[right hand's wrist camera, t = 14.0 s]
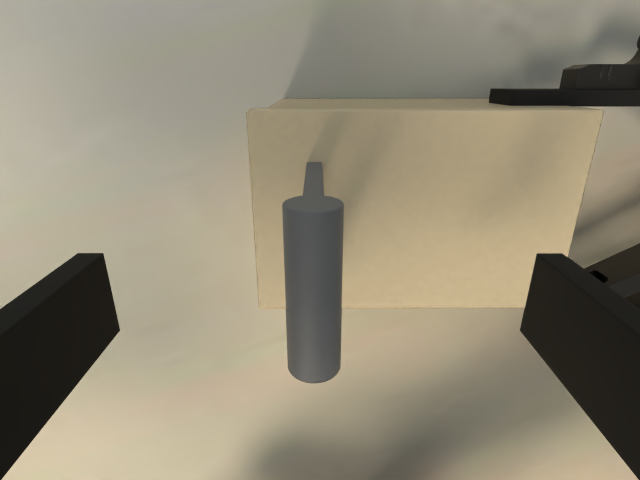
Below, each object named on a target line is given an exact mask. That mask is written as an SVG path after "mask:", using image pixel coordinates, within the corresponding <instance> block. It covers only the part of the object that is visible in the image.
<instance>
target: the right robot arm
mask: <svg viewBox="0 0 640 480" xmlns="http://www.w3.org/2000/svg"><path fill="white" fill-rule="evenodd" d="M119 331H120V328H119V323H118V319H117V314H116V310H115V305H114V300H113V296H112V291H111V287H110V282H109V277H108V273H107V268H106V264H105V259H104V255H103V253H78V254H76V255H75V256H73V257H72V258H71V259H69V260H68V261H67V262H65V263H64V264H62V265H61V266H60V267H58V268H57V269H55V270H54V271H53V272H51V273H50V274H49V275H47V276H46V277H44V278H43V279H42V280H40V281H39V282H37V283H36V284H35V285H33V286H32V287H30V288H29V289H28V290H26V291H25V292H24V293H22V294H21V295H19V296H18V297H17V298H15V299H14V300H12V301H11V302H10V303H8V304H7V305H5V306H4V307H3V308H1V309H0V480H1V479H2V478H3V477H4V475H5V474H6V473H7V472H8V470H9V469H10V468H11V467H12V465H13V464H14V463H15V462H16V460H17V459H18V458H19V457H20V455H21V454H22V453H23V452H24V450H25V449H26V448H27V447H28V445H29V444H30V443H31V442H32V440H33V439H34V438H35V436H36V435H37V434H38V433H39V431H40V430H41V429H42V428H43V426H44V425H45V424H46V423H47V421H48V420H49V419H50V418H51V416H52V415H53V414H54V413H55V411H56V410H57V409H58V408H59V406H60V405H61V404H62V403H63V401H64V400H65V399H66V398H67V396H68V395H69V394H70V392H71V391H72V390H73V389H74V387H75V386H76V385H77V384H78V382H79V381H80V380H81V379H82V377H83V376H84V375H85V374H86V372H87V371H88V370H89V369H90V367H91V366H92V365H93V364H94V362H95V361H96V360H97V359H98V357H99V356H100V355H101V354H102V352H103V351H104V350H105V349H106V347H107V346H108V345H109V343H110V342H111V341H112V340H113V338H114V337H115V336H116V335H117V333H118V332H119ZM520 331H521V332H522V333H523V335H524V336H525V337H526V338H527V340H528V341H529V342H530V343H531V345H532V346H533V347H534V349H535V350H536V351H537V352H538V354H539V355H540V356H541V357H542V359H543V360H544V361H545V362H546V364H547V365H548V366H549V367H550V369H551V370H552V371H553V372H554V374H555V375H556V376H557V377H558V379H559V380H560V381H561V382H562V384H563V385H564V386H565V387H566V389H567V390H568V391H569V392H570V394H571V395H572V396H573V398H574V399H575V400H576V401H577V403H578V404H579V405H580V406H581V408H582V409H583V410H584V411H585V413H586V414H587V415H588V416H589V418H590V419H591V420H592V421H593V423H594V424H595V425H596V426H597V428H598V429H599V430H600V431H601V433H602V434H603V435H604V436H605V438H606V439H607V440H608V442H609V443H610V444H611V445H612V447H613V448H614V449H615V450H616V452H617V453H618V454H619V455H620V457H621V458H622V459H623V460H624V462H625V463H626V464H627V465H628V467H629V468H630V469H631V470H632V472H633V473H634V474H635V475H636V477H637V478H638V479H639V480H640V309H639V308H637V307H636V306H635V305H633V304H632V303H630V302H629V301H628V300H626V299H625V298H623V297H622V296H621V295H619V294H618V293H616V292H615V291H614V290H612V289H611V288H610V287H608V286H607V285H605V284H604V283H603V282H601V281H600V280H598V279H597V278H596V277H594V276H593V275H591V274H590V273H589V272H587V271H586V270H585V269H583V268H582V267H580V266H579V265H578V264H576V263H575V262H573V261H572V260H571V259H569V258H568V257H567V256H565V255H564V254H562V253H537V255H536V259H535V264H534V268H533V273H532V277H531V282H530V287H529V291H528V296H527V300H526V305H525V310H524V314H523V319H522V323H521V328H520Z"/></svg>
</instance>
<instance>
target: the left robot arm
mask: <svg viewBox="0 0 640 480" xmlns="http://www.w3.org/2000/svg"><path fill="white" fill-rule="evenodd" d="M637 47H638V51H637V52H636V54H635V56H634V57H633V58H632V59H631V60H630V61H629V62H627V63H625V64H587V65H573V66H571V67H568V68H565V69H563V73H562V78H561V83H560V88H559V89H491V90H490V97H489V103H494V104H501V105H508V106H640V36H639V38H638V41H637ZM584 269H585V270H586V271H587V272H589V273H590V274H591V275H593V276H594V277H596V278H597V279H598V280H600V281H601V282H603V283H604V284H605V285H607V286H608V287H610V288H611V289H612V290H614V291H615V292H616V293H618V294H619V295H621V296H622V297H623V298H625V299H626V300H628V301H629V302H630V303H632V304H633V305H635V306H636V307H637V308H639V309H640V244H638V245H635V246H633V247H631V248H629V249H627V250H624V251H622V252H620V253H618V254H615V255H613V256H611V257H609V258H607V259H604V260H602V261H600V262H598V263H596V264H593V265H591V266H589V267H587V268H584Z"/></svg>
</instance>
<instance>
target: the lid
mask: <svg viewBox="0 0 640 480" xmlns="http://www.w3.org/2000/svg"><path fill="white" fill-rule="evenodd" d="M603 114H604V110H601V109H592V108H393V109H249V110H247V112H246V115H247V130H248V146H249V161H250V176H251V192H252V207H253V223H254V238H255V253H256V269H257V284H258V300H259V308H260V309H286V326H287V354H288V369H289V371H290V373H291V374H292V376H294V377H295V378H296V379H298V380H300V381H303V382H306V383H321V382H325V381H328V380H330V379H332V378H333V377H334V376H335V375H336V374H337V373H338V371H339V369H340V358H341V314H342V308H525V305H526V300H527V296H528V291H529V287H530V282H531V277H532V273H533V268H534V264H535V259H536V255H537V253H562V254H564V255H565V256H567V257H568V254H569V250H570V246H571V242H572V238H573V234H574V230H575V226H576V222H577V218H578V214H579V210H580V206H581V202H582V198H583V194H584V190H585V186H586V182H587V178H588V174H589V170H590V166H591V162H592V158H593V154H594V150H595V146H596V142H597V138H598V134H599V130H600V126H601V122H602V118H603Z"/></svg>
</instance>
